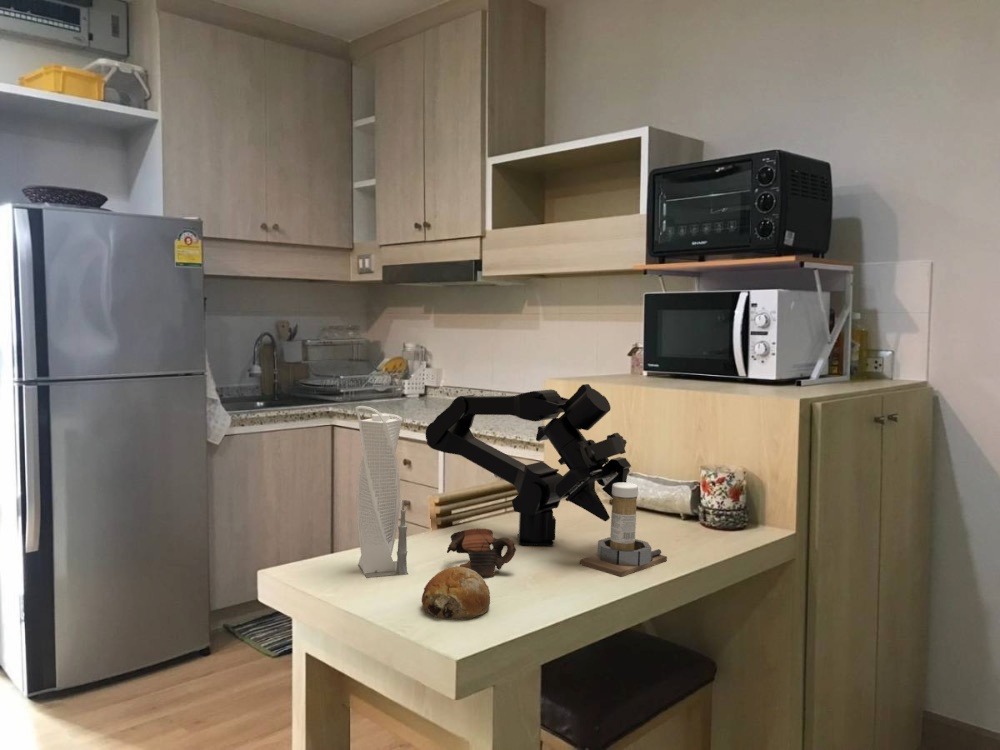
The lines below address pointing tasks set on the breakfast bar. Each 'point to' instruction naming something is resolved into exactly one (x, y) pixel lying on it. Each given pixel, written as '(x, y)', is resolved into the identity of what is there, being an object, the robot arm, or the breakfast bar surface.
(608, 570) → the walnut board
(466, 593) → the bread roll
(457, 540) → the pottery mug
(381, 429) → the skyscraper
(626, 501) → the sprinkles bottle
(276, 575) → the breakfast bar surface
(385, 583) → the breakfast bar surface
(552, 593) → the breakfast bar surface
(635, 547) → the collar
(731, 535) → the breakfast bar surface
